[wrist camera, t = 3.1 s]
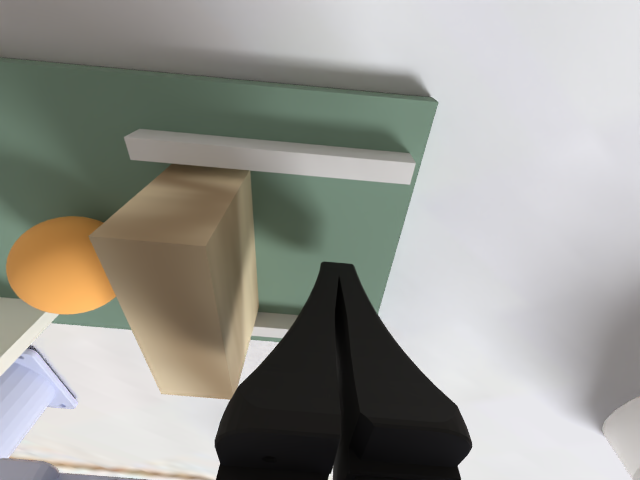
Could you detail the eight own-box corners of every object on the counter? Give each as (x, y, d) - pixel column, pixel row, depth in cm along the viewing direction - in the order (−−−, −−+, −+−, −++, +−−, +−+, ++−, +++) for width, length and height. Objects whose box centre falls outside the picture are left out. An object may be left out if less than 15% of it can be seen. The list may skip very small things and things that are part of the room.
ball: (79, 265, 15) (10, 331, 12) (42, 194, 13) (-56, 252, 10) (158, 272, 15) (111, 339, 12) (136, 202, 13) (69, 263, 10)
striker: (204, 302, 16) (161, 393, 12) (173, 162, 12) (87, 236, 8) (258, 307, 16) (233, 399, 12) (250, 169, 12) (205, 246, 8)
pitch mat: (-34, 304, 19) (-65, 328, 17) (-281, 31, 10) (-380, 33, 9) (366, 338, 19) (369, 364, 18) (432, 97, 11) (447, 108, 9)
